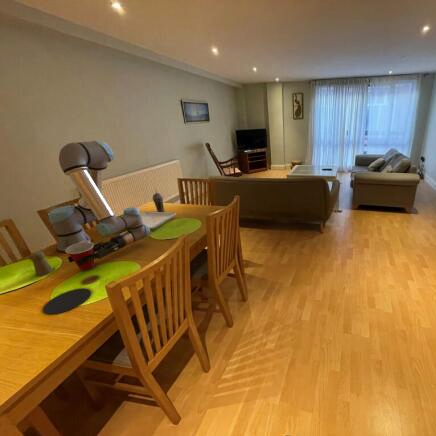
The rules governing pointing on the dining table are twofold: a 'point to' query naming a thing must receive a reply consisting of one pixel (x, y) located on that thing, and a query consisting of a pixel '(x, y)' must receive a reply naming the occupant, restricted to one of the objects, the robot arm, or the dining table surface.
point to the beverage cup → (158, 201)
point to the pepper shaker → (40, 263)
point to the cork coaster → (90, 279)
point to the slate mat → (67, 301)
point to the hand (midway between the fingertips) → (73, 261)
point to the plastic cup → (81, 253)
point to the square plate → (155, 218)
